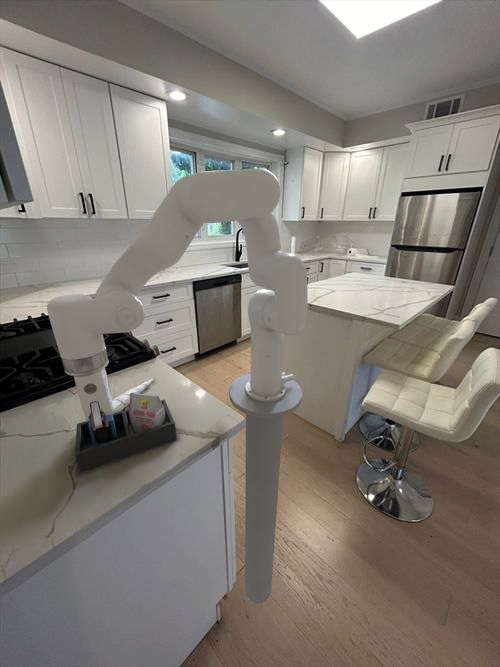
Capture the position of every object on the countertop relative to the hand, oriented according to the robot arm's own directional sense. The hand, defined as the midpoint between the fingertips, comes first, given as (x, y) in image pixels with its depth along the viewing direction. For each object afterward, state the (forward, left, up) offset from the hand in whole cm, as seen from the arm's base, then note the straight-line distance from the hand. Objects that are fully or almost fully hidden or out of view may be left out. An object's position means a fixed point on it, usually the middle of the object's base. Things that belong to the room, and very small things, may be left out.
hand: (104, 432), depth 60 cm
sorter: (-4, 0, -4) cm, 6 cm away
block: (0, 0, 0) cm, 0 cm away
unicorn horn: (-5, -14, -4) cm, 16 cm away
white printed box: (-9, 0, -3) cm, 10 cm away
